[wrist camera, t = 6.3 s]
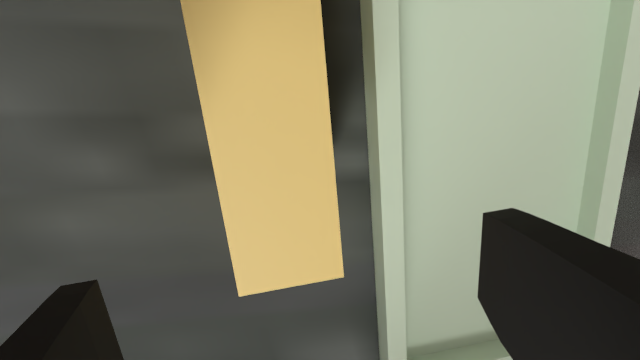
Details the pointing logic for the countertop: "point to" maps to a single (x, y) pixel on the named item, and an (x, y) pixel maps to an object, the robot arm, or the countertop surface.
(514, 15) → the tray
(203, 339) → the countertop surface
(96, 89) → the countertop surface
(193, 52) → the tan rectangular block
